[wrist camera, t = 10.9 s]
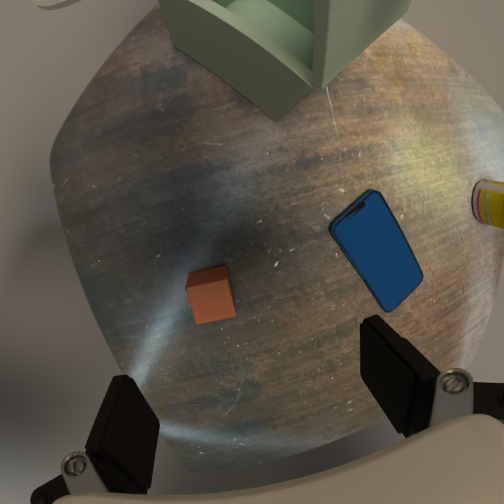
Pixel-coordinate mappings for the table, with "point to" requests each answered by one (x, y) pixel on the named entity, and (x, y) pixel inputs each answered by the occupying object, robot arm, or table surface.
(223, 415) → the table surface
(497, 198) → the supplement bottle
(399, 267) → the smartphone
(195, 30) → the green box
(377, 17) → the box lid
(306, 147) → the table surface
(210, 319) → the block
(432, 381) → the robot arm
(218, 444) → the table surface
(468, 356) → the table surface
